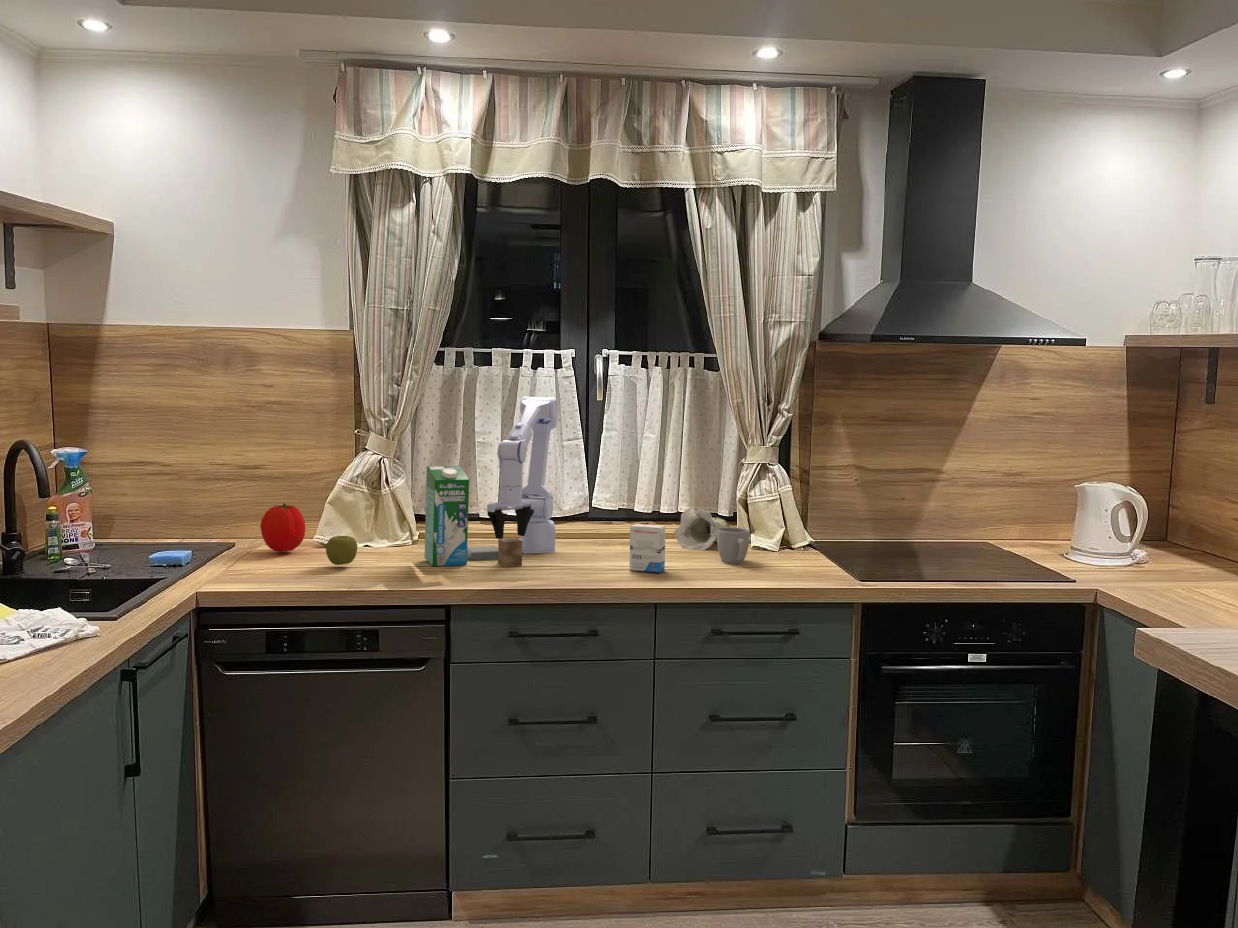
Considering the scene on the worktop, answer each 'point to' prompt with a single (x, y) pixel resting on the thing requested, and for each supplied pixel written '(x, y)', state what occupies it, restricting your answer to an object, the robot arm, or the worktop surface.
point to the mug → (733, 544)
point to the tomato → (283, 528)
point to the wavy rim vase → (698, 529)
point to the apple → (341, 549)
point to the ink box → (647, 548)
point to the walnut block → (510, 552)
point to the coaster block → (482, 553)
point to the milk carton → (446, 516)
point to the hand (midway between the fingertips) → (510, 537)
